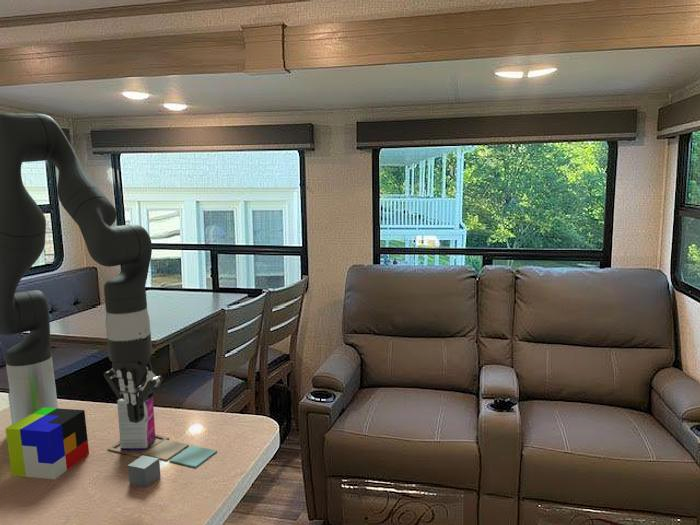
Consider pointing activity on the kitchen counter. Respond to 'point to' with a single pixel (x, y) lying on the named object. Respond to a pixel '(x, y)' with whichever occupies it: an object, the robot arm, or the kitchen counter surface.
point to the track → (173, 452)
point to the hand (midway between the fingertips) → (136, 420)
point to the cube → (144, 471)
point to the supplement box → (136, 427)
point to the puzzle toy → (47, 442)
